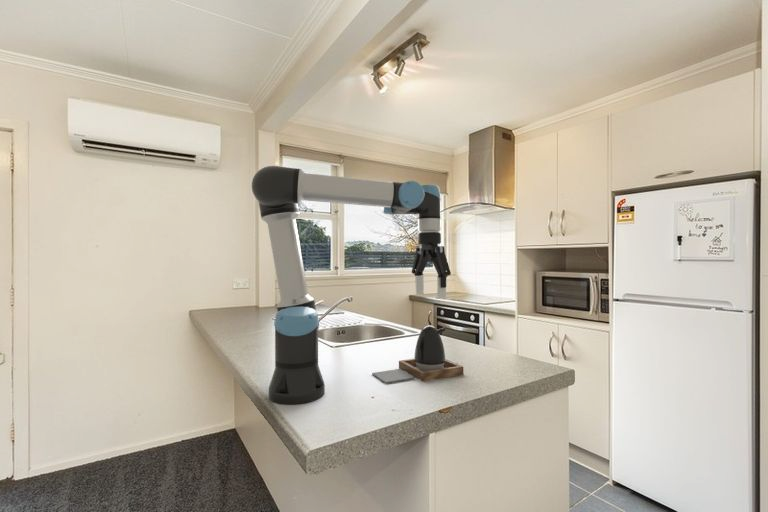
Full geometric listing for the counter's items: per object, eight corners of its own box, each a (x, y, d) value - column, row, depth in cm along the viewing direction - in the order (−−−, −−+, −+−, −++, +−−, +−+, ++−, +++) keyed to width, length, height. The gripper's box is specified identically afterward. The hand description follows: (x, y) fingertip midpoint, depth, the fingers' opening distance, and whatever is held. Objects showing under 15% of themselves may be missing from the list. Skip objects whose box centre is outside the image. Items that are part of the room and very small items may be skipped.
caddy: (422, 381, 113) (422, 373, 113) (398, 368, 127) (398, 360, 127) (463, 374, 120) (463, 366, 120) (436, 362, 134) (436, 355, 134)
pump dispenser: (448, 376, 118) (447, 328, 118) (415, 376, 118) (415, 328, 119) (443, 366, 128) (443, 322, 129) (413, 366, 129) (413, 322, 129)
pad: (385, 384, 111) (385, 382, 111) (372, 374, 120) (372, 372, 120) (414, 379, 115) (414, 377, 115) (399, 370, 124) (399, 368, 124)
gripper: (461, 229, 114) (462, 299, 114) (419, 234, 137) (420, 292, 137) (441, 229, 111) (442, 300, 111) (401, 234, 133) (402, 293, 133)
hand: (430, 296), depth 124 cm, fingers open, 13 cm apart
